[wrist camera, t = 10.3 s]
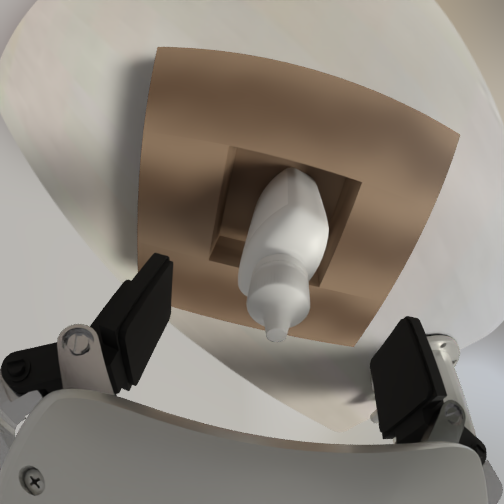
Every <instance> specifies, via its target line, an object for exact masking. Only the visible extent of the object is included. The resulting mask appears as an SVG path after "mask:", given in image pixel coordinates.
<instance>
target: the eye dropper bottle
mask: <svg viewBox="0 0 504 504" xmlns="http://www.w3.org/2000/svg"><path fill="white" fill-rule="evenodd" d="M328 234H329V226H328V221H327V217H326V213H325V209H324V206H323V203H322V199H321V196H320V193H319V190H318V187H317V184H316V182H315V180H314V179H313V178H312V177H310V176H308V175H307V174H305V173H303V172H302V171H300V170H298V169H296V168H293V167H290V168H287V169H285V170H283V171H282V172H280V173H279V174H278V175H277V176H276V177H274V178H273V179H272V180H271V181H270V183H269V184H268V185H267V186H266V187H265V189H264V190H263V192H262V193H261V195H260V197H259V199H258V201H257V204H256V206H255V210H254V213H253V217H252V220H251V224H250V227H249V231H248V235H247V238H246V242H245V246H244V249H243V253H242V257H241V261H240V266H239V272H238V286H239V289H240V291H241V292H242V293H243V294H244V295H245V296H247V301H246V302H247V303H246V304H247V306H246V307H247V310H248V312H249V314H250V316H251V317H252V319H254V321H256V322H257V323H259V324H260V325H262V326H265V332H266V337H267V339H268V340H270V341H272V342H281V341H283V340H285V339H286V337H287V333H288V330H289V328H290V327H293V326H296V325H297V324H299V323H301V322H302V321H303V320H304V319H305V318H306V317H307V315H308V313H309V310H310V294H309V280H310V279H311V278H312V276H313V275H314V273H315V272H316V270H317V268H318V266H319V264H320V262H321V260H322V258H323V255H324V252H325V249H326V245H327V240H328Z"/></svg>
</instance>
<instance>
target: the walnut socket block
mask: <svg viewBox="0 0 504 504" xmlns="http://www.w3.org/2000/svg"><path fill="white" fill-rule="evenodd" d="M459 137H460V134H458V133H456V132H455V131H453V130H451V129H450V128H448V127H446V126H445V125H443V124H441V123H440V122H438V121H436V120H434V119H432V118H431V117H429V116H427V115H425V114H423V113H421V112H419V111H417V110H415V109H413V108H411V107H409V106H407V105H405V104H403V103H401V102H399V101H397V100H394V99H392V98H390V97H388V96H385V95H383V94H381V93H378V92H376V91H374V90H371V89H369V88H366V87H363V86H361V85H358V84H356V83H353V82H350V81H347V80H344V79H341V78H338V77H335V76H332V75H329V74H326V73H323V72H320V71H316V70H313V69H309V68H305V67H302V66H298V65H294V64H290V63H286V62H281V61H277V60H272V59H267V58H262V57H257V56H252V55H246V54H239V53H232V52H225V51H216V50H207V49H195V48H178V47H158V48H157V52H156V57H155V62H154V67H153V72H152V77H151V83H150V88H149V94H148V101H147V108H146V115H145V122H144V130H143V139H142V149H141V161H140V174H139V191H138V223H137V250H138V272H139V271H140V269H141V268H142V267H143V266H144V264H145V263H146V262H147V261H148V260H149V258H150V257H151V256H152V255H153V254H154V253H159V254H162V255H166V256H169V258H170V261H173V279H172V298H171V306H172V307H175V308H179V309H182V310H186V311H189V312H193V313H197V314H200V315H204V316H208V317H212V318H215V319H219V320H223V321H227V322H231V323H235V324H240V325H244V326H248V327H252V328H257V329H261V330H265V326H262V325H260V324H259V323H257V322H256V321H254V319H252V317H251V316H250V314H249V312H248V310H247V307H246V306H247V304H246V303H247V302H246V301H247V296H245V295H244V294H243V293H242V292H241V291H240V289H239V286H238V272H239V266H240V261H241V257H242V253H243V249H244V246H245V242H246V238H247V235H248V231H249V227H250V224H251V220H252V217H253V213H254V210H255V206H256V204H257V201H258V199H259V197H260V195H261V193H262V192H263V190H264V189H265V187H266V186H267V185H268V184H269V183H270V181H271V180H272V179H273V178H274V177H276V176H277V175H278V174H279V173H280V172H282V171H283V170H285V169H287V168H290V167H293V168H296V169H298V170H300V171H302V172H303V173H305V174H307V175H308V176H310V177H312V178H313V179H314V180H315V182H316V184H317V187H318V190H319V193H320V196H321V199H322V203H323V206H324V209H325V213H326V217H327V221H328V226H329V234H328V240H327V245H326V249H325V252H324V255H323V258H322V260H321V262H320V264H319V266H318V268H317V270H316V272H315V273H314V275H313V276H312V278H311V279H310V280H309V294H310V310H309V313H308V315H307V317H306V318H305V319H304V320H303V321H302V322H301V323H299V324H297V325H296V326H293V327H290V328H289V330H288V333H287V335H289V336H294V337H299V338H304V339H310V340H315V341H321V342H326V343H332V344H338V345H344V346H350V347H354V346H355V344H356V343H357V341H358V340H359V339H360V337H361V336H362V334H363V333H364V331H365V330H366V328H367V327H368V325H369V324H370V322H371V321H372V319H373V318H374V316H375V315H376V313H377V312H378V310H379V308H380V307H381V305H382V304H383V302H384V300H385V299H386V297H387V296H388V294H389V292H390V291H391V289H392V287H393V285H394V284H395V282H396V280H397V279H398V277H399V275H400V273H401V271H402V270H403V268H404V266H405V264H406V262H407V260H408V259H409V257H410V255H411V253H412V251H413V249H414V247H415V245H416V243H417V241H418V239H419V237H420V235H421V233H422V231H423V229H424V227H425V225H426V222H427V220H428V218H429V216H430V214H431V212H432V209H433V207H434V205H435V202H436V200H437V198H438V195H439V193H440V190H441V188H442V185H443V183H444V180H445V178H446V175H447V172H448V170H449V167H450V164H451V161H452V159H453V156H454V153H455V150H456V147H457V144H458V140H459Z"/></svg>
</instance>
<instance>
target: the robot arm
mask: <svg viewBox="0 0 504 504" xmlns="http://www.w3.org/2000/svg"><path fill="white" fill-rule="evenodd" d="M172 279H173V261H170V258H169V256H166V255H162V254H159V253H154V254H153V255H152V256H151V257H150V258H149V260H148V261H147V262H146V263H145V264H144V266H143V267H142V268H141V269H140V271H139V272H138V273H137V275H136V276H135V277H134V278H133V280H132V281H131V280H126V281H125V282H124V283H123V284H122V285H121V286H120V288H119V289H118V290H117V291H116V293H115V294H114V295H113V296H112V298H111V299H110V300H109V302H108V303H107V304H106V306H105V307H104V308H103V310H102V311H101V312H100V314H99V315H98V317H97V318H96V319H95V320H94V322H93V323H92V324H91V326H90V327H89V326H87V325H84V324H74V325H71V326H68V327H67V328H65V329H64V330H63V331H62V332H61V333H60V334H59V337H58V340H57V342H56V343H52V344H47V345H43V346H39V347H34V348H30V349H25V350H21V351H16V352H13V353H11V354H9V355H8V356H7V357H6V358H5V359H4V361H3V363H2V366H1V369H0V504H497V503H498V501H499V499H500V498H501V496H502V491H503V489H502V484H501V482H500V480H499V478H498V477H497V475H496V473H495V471H494V470H493V468H492V466H491V465H490V463H489V461H488V460H487V461H485V460H486V448H485V445H484V444H483V443H482V442H481V441H480V440H479V439H478V438H477V437H476V434H475V430H474V426H473V423H472V419H471V416H470V412H469V409H468V405H467V403H466V399H465V396H464V393H463V390H462V387H461V384H460V382H459V379H458V376H457V373H456V371H455V368H454V367H455V366H456V364H457V362H458V360H459V356H460V349H459V347H458V344H457V342H456V341H455V340H454V339H453V338H451V337H449V336H444V335H434V336H428V337H426V334H425V332H424V329H423V327H422V324H421V322H420V320H419V319H418V318H414V317H409V316H406V317H405V318H404V319H401V320H400V321H399V323H398V324H397V326H396V327H395V329H394V330H393V331H392V333H391V334H390V336H389V337H388V338H387V340H386V341H385V342H384V344H383V345H382V346H381V348H380V349H379V350H378V352H377V353H376V354H375V355H374V357H373V358H372V360H371V362H370V369H371V375H372V376H371V384H372V389H373V391H374V393H375V400H376V406H377V410H375V411H374V412H373V413H372V414H371V416H370V419H371V421H373V422H374V423H379V429H380V432H382V436H383V439H393V443H394V444H386V445H345V444H324V443H312V442H301V441H293V440H285V439H278V438H271V437H264V436H259V435H253V434H248V433H242V432H238V431H233V430H229V429H224V428H220V427H216V426H212V425H208V424H204V423H200V422H197V421H193V420H190V419H186V418H182V417H179V416H176V415H172V414H169V413H166V412H163V411H160V410H157V409H154V408H151V407H148V406H145V405H142V404H139V403H135V402H133V401H130V400H127V399H124V398H121V397H117V395H116V394H117V393H119V392H120V390H121V388H123V389H125V390H127V391H129V390H130V388H131V386H132V385H135V386H136V385H137V384H138V382H139V380H140V378H141V376H142V373H143V371H144V369H145V367H146V365H147V363H148V361H149V359H150V357H151V355H152V353H153V351H154V349H155V347H156V345H157V343H158V341H159V339H160V337H161V335H162V333H163V331H164V329H165V327H166V325H167V323H168V321H169V319H170V315H171V298H172ZM29 413H30V414H29ZM28 414H29V415H28ZM26 415H28V417H27V418H26V417H25V416H26ZM24 419H26V420H25V422H24V423H23V425H22V426H21V428H20V430H19V432H18V433H17V435H16V437H15V429H16V426H17V425H18V424H19V423H20V422H21V421H23V420H24Z"/></svg>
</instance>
